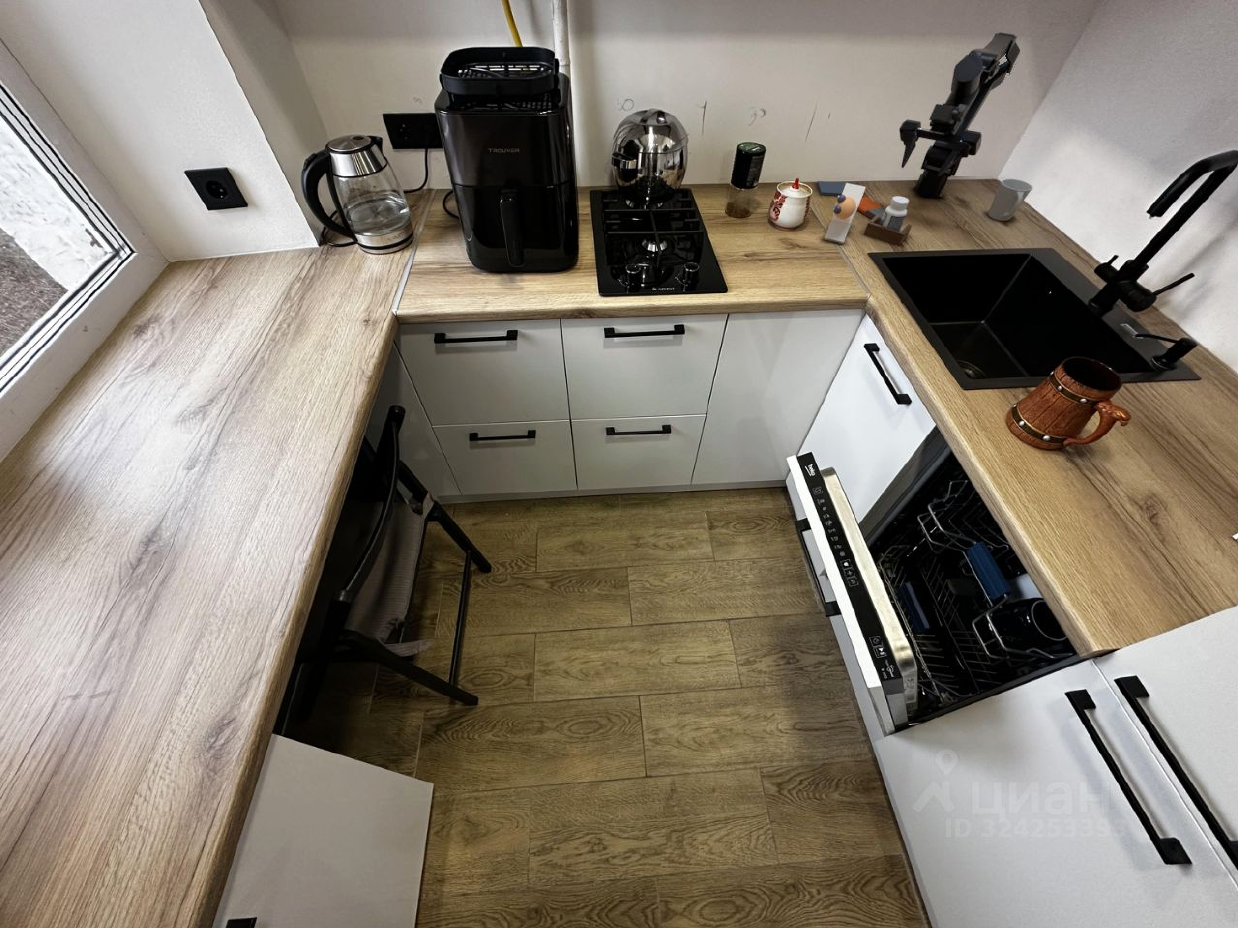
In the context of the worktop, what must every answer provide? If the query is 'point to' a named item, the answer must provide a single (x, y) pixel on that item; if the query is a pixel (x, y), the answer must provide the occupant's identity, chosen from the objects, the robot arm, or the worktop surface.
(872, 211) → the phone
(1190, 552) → the worktop surface
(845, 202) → the white dotted panel
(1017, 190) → the cup
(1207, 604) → the worktop surface
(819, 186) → the seat mat
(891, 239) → the brown wooden tray
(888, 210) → the pill bottle
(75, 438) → the worktop surface
